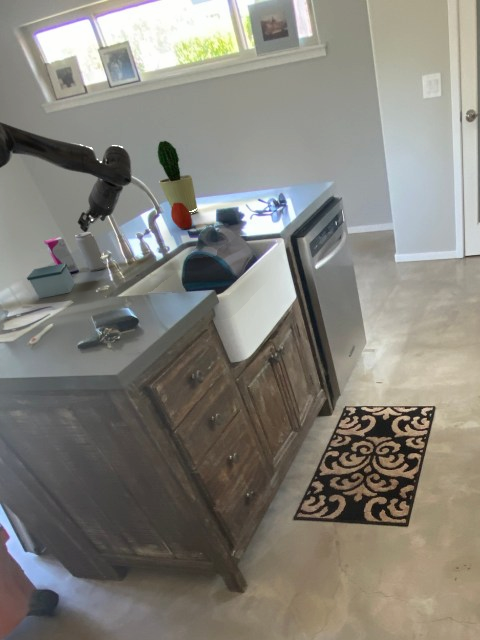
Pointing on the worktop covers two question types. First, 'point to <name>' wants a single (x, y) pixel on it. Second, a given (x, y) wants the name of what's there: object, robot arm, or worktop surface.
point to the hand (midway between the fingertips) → (92, 224)
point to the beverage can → (89, 251)
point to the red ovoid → (181, 216)
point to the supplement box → (61, 253)
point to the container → (51, 280)
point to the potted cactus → (175, 178)
